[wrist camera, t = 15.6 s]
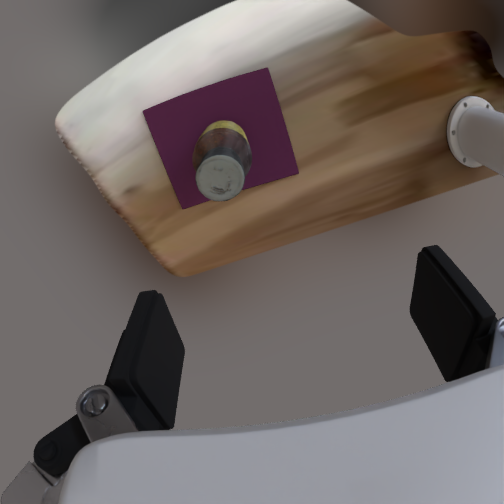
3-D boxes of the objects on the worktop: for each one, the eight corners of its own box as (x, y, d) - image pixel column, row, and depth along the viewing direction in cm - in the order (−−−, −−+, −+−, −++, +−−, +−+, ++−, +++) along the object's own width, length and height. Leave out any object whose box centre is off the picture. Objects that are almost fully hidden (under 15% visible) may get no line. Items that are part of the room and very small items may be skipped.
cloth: (267, 67, 38) (267, 67, 38) (298, 172, 46) (299, 173, 46) (142, 110, 40) (142, 111, 40) (182, 208, 48) (182, 209, 48)
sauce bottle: (226, 170, 45) (219, 234, 28) (192, 142, 43) (161, 189, 25) (257, 137, 43) (273, 180, 25) (223, 107, 40) (213, 129, 23)
